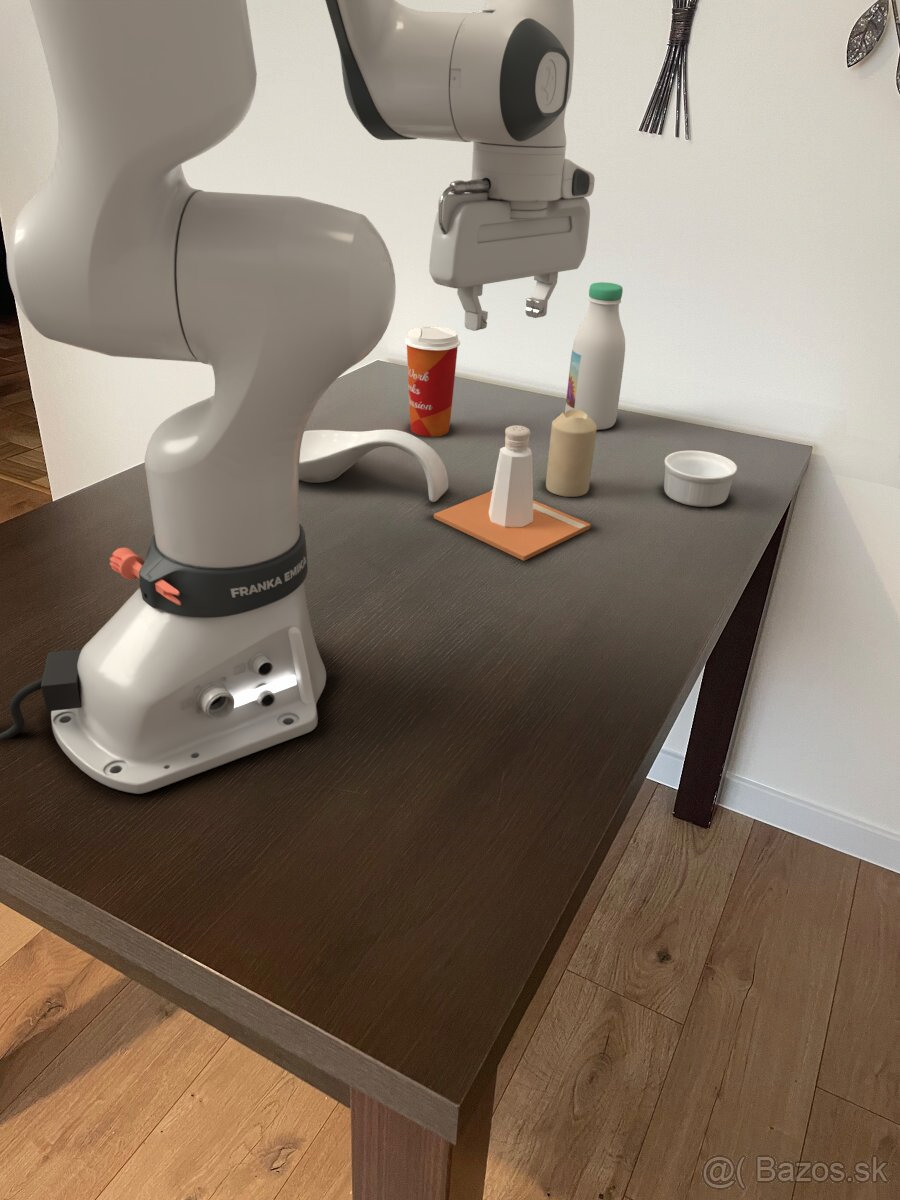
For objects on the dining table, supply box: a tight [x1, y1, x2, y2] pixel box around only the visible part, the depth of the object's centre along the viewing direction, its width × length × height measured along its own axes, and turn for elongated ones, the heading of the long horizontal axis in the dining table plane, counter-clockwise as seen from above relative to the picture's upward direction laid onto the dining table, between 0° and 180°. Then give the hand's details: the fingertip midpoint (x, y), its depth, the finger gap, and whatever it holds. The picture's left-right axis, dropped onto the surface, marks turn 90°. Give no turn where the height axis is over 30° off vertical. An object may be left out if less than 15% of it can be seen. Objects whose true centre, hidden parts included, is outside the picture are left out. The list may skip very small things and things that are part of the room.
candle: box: [545, 410, 598, 498], centre depth 115 cm, size 6×6×10 cm
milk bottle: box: [564, 281, 626, 431], centre depth 134 cm, size 8×8×20 cm
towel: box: [433, 488, 592, 562], centre depth 108 cm, size 12×14×1 cm
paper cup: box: [404, 325, 461, 437], centre depth 130 cm, size 8×8×14 cm
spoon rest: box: [299, 429, 449, 503], centre depth 115 cm, size 24×12×7 cm, turn 70°
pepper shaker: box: [489, 424, 534, 528], centre depth 105 cm, size 5×5×11 cm
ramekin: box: [663, 450, 738, 508], centre depth 116 cm, size 9×9×4 cm
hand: (506, 322), depth 96 cm, fingers open, 8 cm apart
